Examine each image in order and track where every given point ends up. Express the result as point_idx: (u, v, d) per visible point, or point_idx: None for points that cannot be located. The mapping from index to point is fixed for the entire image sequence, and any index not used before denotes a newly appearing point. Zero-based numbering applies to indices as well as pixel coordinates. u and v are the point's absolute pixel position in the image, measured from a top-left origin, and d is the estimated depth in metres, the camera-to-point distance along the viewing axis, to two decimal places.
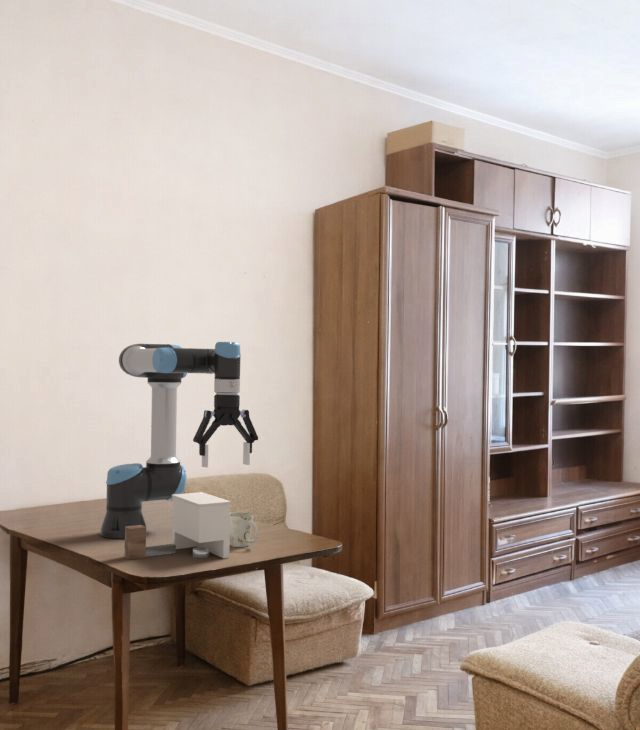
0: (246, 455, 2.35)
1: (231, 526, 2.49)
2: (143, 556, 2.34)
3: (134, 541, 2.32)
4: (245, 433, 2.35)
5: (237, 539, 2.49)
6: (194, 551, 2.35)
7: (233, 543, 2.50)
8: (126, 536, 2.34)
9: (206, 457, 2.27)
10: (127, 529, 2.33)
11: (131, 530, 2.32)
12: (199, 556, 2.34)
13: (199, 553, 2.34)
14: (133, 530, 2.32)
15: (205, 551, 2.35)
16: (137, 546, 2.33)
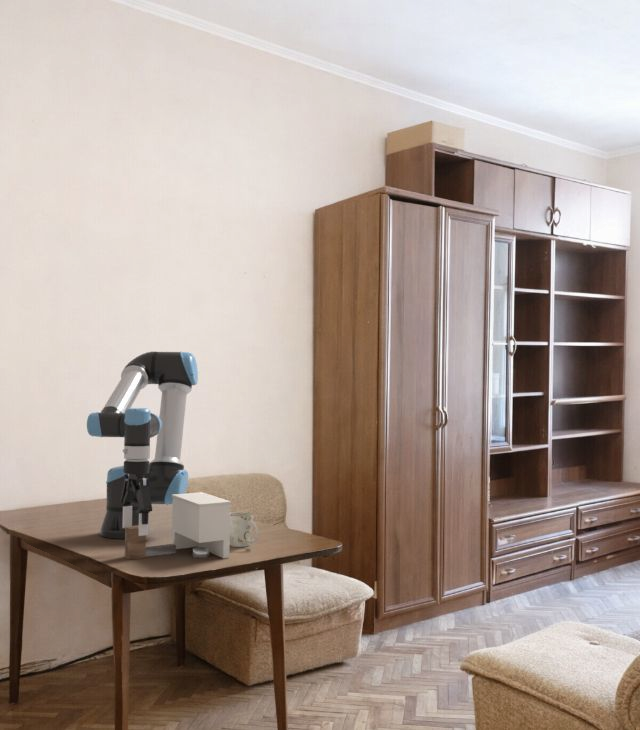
0: None
1: (231, 526, 2.49)
2: (143, 556, 2.34)
3: (134, 541, 2.32)
4: (138, 502, 2.29)
5: (237, 539, 2.49)
6: (194, 551, 2.35)
7: (233, 543, 2.50)
8: (126, 536, 2.34)
9: (123, 518, 2.39)
10: (127, 529, 2.33)
11: (131, 530, 2.32)
12: (199, 556, 2.34)
13: (199, 553, 2.34)
14: (133, 530, 2.32)
15: (205, 551, 2.35)
16: (137, 546, 2.33)
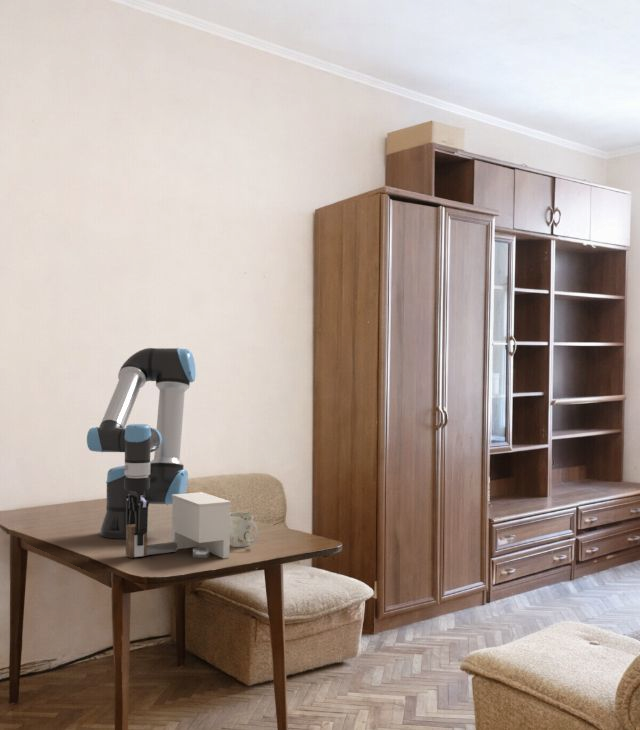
0: None
1: (231, 526, 2.49)
2: (144, 555, 2.34)
3: None
4: (135, 522, 2.32)
5: (237, 539, 2.49)
6: (194, 551, 2.35)
7: (233, 543, 2.50)
8: (127, 534, 2.34)
9: None
10: (128, 527, 2.33)
11: (132, 528, 2.32)
12: (199, 556, 2.34)
13: (199, 553, 2.34)
14: (134, 528, 2.32)
15: (205, 551, 2.35)
16: None
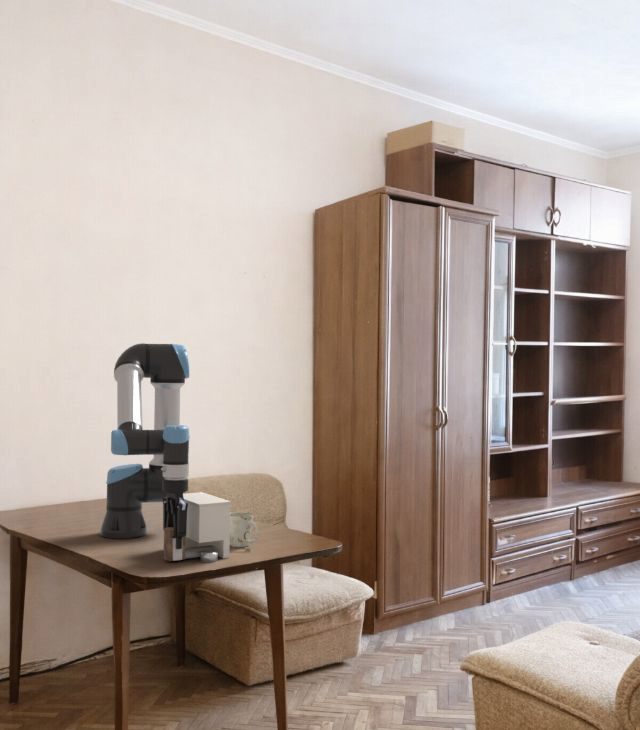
0: None
1: (231, 526, 2.49)
2: (183, 558, 2.29)
3: None
4: (174, 525, 2.27)
5: (237, 539, 2.49)
6: (202, 555, 2.30)
7: (233, 543, 2.50)
8: (165, 537, 2.29)
9: None
10: (166, 530, 2.29)
11: (171, 531, 2.27)
12: (207, 560, 2.30)
13: (207, 557, 2.30)
14: (173, 531, 2.28)
15: (213, 555, 2.30)
16: None
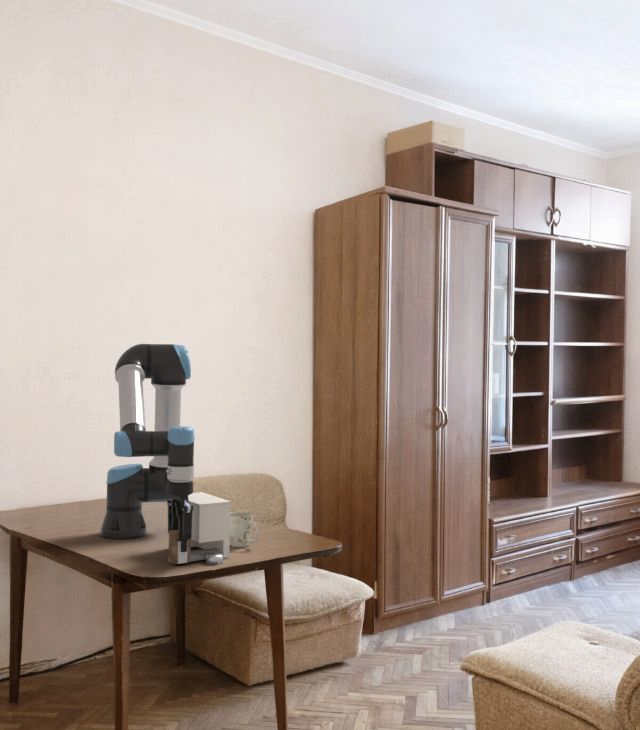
0: None
1: (231, 526, 2.49)
2: (188, 561, 2.27)
3: None
4: (179, 528, 2.24)
5: (237, 539, 2.49)
6: (207, 557, 2.28)
7: (233, 543, 2.50)
8: (170, 540, 2.26)
9: None
10: (171, 533, 2.26)
11: (176, 534, 2.24)
12: (212, 562, 2.27)
13: (212, 559, 2.27)
14: (177, 534, 2.25)
15: (218, 557, 2.27)
16: None
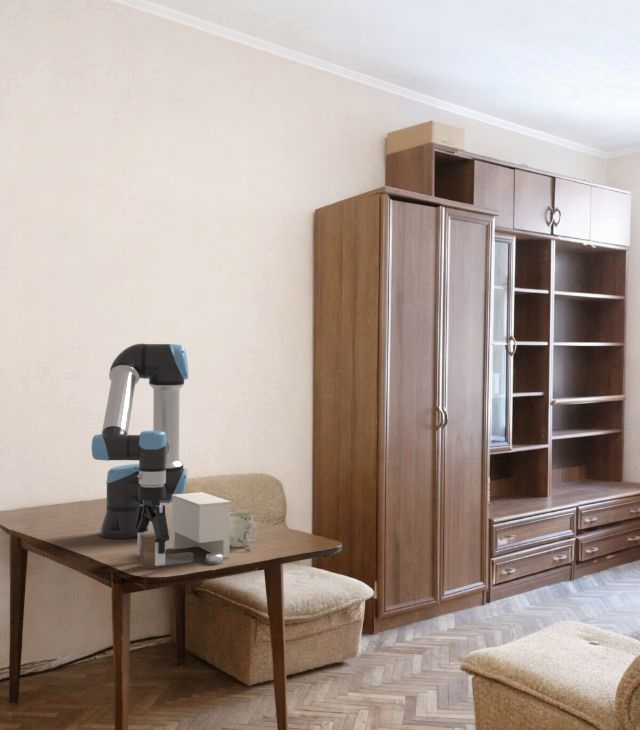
0: None
1: (231, 526, 2.49)
2: (160, 566, 2.23)
3: (150, 550, 2.22)
4: (154, 530, 2.19)
5: (237, 539, 2.49)
6: (208, 557, 2.27)
7: (233, 543, 2.50)
8: (142, 544, 2.23)
9: (138, 545, 2.29)
10: (143, 537, 2.23)
11: (147, 538, 2.21)
12: (213, 562, 2.27)
13: (213, 559, 2.27)
14: (149, 538, 2.21)
15: (219, 557, 2.28)
16: (154, 555, 2.22)
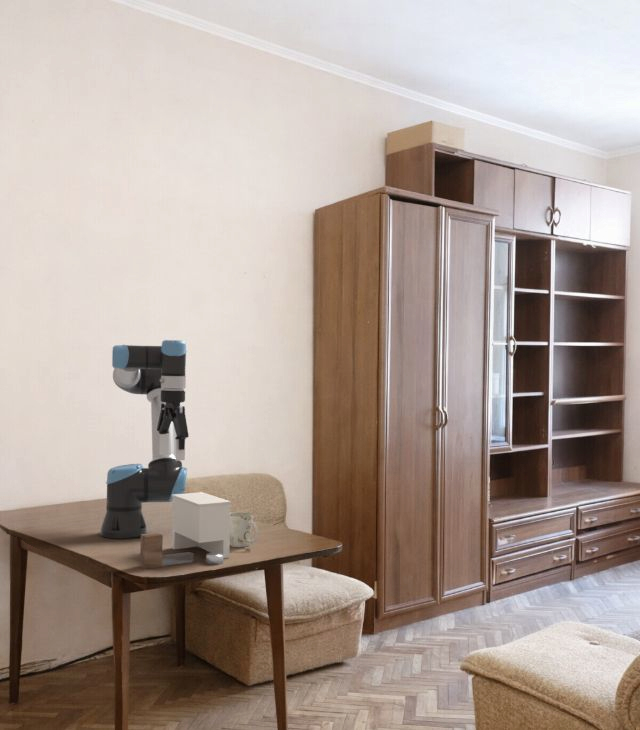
0: None
1: (231, 526, 2.49)
2: (160, 566, 2.23)
3: (150, 550, 2.22)
4: (175, 429, 2.40)
5: (237, 539, 2.49)
6: (209, 557, 2.27)
7: (233, 543, 2.50)
8: (142, 544, 2.23)
9: (160, 445, 2.51)
10: (143, 537, 2.23)
11: (147, 538, 2.21)
12: (214, 562, 2.27)
13: (215, 559, 2.27)
14: (149, 538, 2.21)
15: (220, 557, 2.28)
16: (154, 555, 2.22)
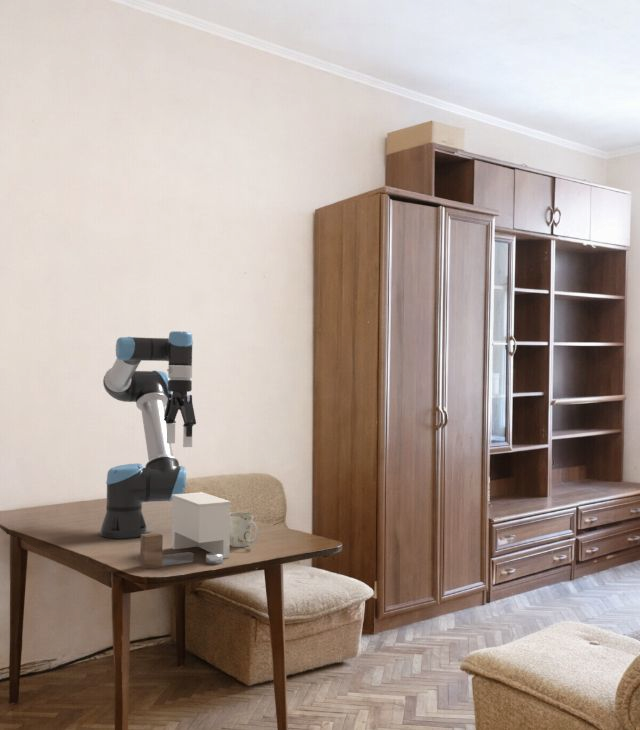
0: None
1: (231, 526, 2.49)
2: (160, 566, 2.23)
3: (150, 550, 2.22)
4: (183, 417, 2.48)
5: (237, 539, 2.49)
6: (210, 557, 2.27)
7: (233, 543, 2.50)
8: (142, 544, 2.23)
9: (166, 434, 2.58)
10: (143, 537, 2.23)
11: (147, 538, 2.21)
12: (216, 562, 2.27)
13: (216, 559, 2.27)
14: (149, 538, 2.21)
15: (221, 556, 2.28)
16: (154, 555, 2.22)
